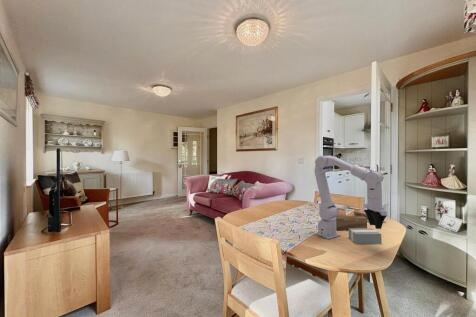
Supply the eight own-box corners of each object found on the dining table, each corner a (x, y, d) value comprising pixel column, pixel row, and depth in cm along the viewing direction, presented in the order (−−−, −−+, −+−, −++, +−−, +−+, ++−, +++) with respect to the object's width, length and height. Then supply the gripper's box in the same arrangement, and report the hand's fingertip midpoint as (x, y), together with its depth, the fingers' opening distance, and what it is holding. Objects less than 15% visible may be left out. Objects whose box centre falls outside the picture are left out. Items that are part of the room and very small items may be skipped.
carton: (381, 244, 103) (381, 233, 103) (356, 244, 104) (355, 233, 104) (372, 237, 111) (372, 228, 111) (348, 237, 112) (348, 228, 112)
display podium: (367, 230, 121) (367, 218, 121) (335, 230, 122) (335, 218, 122) (362, 227, 126) (362, 215, 126) (332, 227, 128) (331, 216, 127)
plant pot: (341, 222, 137) (341, 211, 137) (332, 219, 143) (332, 208, 143) (348, 220, 140) (348, 209, 140) (339, 217, 146) (339, 207, 146)
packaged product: (351, 210, 147) (362, 209, 150) (351, 217, 147) (362, 215, 150) (374, 217, 130) (386, 215, 133) (374, 225, 130) (386, 223, 133)
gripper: (394, 200, 90) (395, 232, 90) (374, 194, 104) (375, 221, 104) (376, 201, 90) (377, 232, 90) (359, 194, 105) (360, 221, 105)
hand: (375, 226), depth 97 cm, fingers open, 4 cm apart
